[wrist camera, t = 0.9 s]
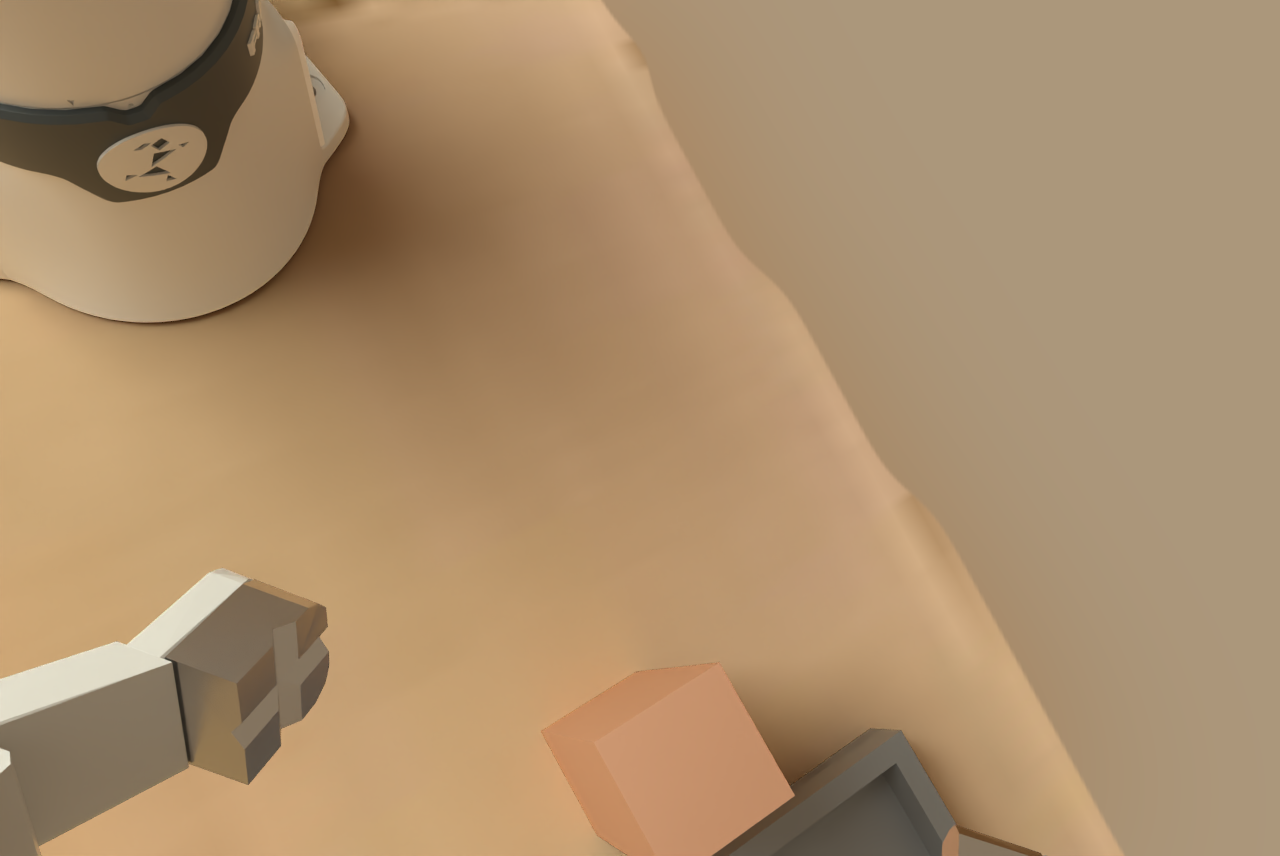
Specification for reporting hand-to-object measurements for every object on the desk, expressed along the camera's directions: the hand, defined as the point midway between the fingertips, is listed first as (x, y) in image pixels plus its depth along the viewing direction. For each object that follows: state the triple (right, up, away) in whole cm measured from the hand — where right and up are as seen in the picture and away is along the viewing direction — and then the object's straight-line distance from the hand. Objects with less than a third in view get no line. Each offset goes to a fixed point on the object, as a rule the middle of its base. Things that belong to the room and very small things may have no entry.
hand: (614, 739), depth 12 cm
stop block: (-1, -10, +31) cm, 33 cm away
